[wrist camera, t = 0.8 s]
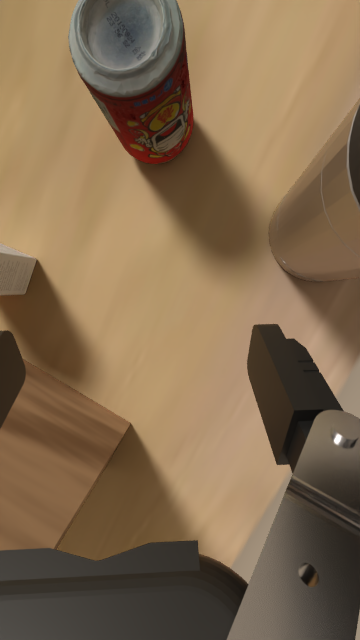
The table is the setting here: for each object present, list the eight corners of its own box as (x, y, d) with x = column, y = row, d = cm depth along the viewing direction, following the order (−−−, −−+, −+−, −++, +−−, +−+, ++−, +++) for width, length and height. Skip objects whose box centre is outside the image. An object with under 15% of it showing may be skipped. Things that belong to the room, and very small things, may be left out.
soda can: (156, 187, 30) (119, 115, 18) (108, 134, 30) (37, 26, 18) (210, 133, 29) (209, 17, 17) (160, 78, 29) (122, -77, 17)
